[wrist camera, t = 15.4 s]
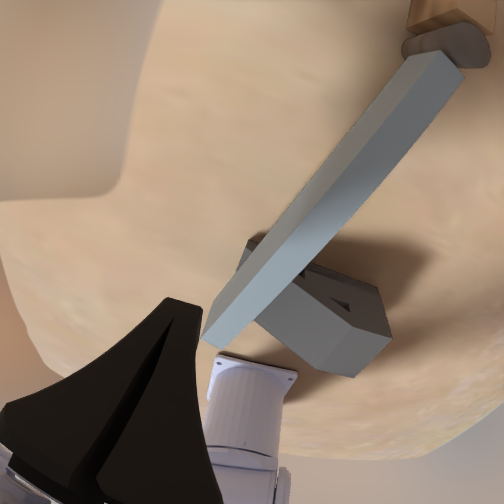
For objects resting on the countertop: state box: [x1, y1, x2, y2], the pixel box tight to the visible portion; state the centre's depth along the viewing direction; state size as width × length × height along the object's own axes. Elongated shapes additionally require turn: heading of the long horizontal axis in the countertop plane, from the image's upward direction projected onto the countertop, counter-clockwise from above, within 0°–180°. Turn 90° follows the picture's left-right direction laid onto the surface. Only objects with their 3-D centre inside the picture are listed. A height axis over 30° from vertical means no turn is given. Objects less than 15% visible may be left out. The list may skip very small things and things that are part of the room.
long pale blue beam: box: [200, 50, 465, 350], centre depth 13 cm, size 19×2×4 cm, turn 147°
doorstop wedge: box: [236, 240, 393, 378], centre depth 18 cm, size 10×4×5 cm, turn 71°
